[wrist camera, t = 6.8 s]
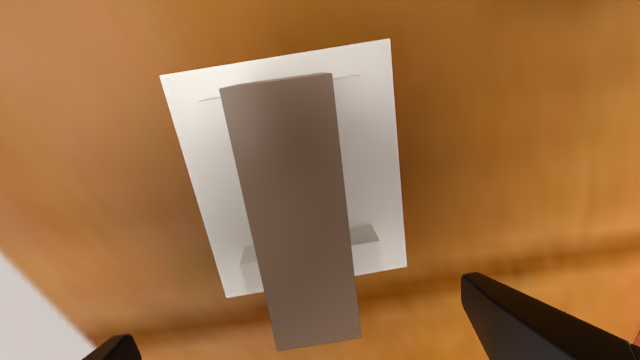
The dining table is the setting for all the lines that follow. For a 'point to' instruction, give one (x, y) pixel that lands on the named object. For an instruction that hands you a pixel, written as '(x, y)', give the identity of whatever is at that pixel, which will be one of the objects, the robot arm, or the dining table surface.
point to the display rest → (355, 143)
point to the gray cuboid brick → (296, 205)
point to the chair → (637, 340)
